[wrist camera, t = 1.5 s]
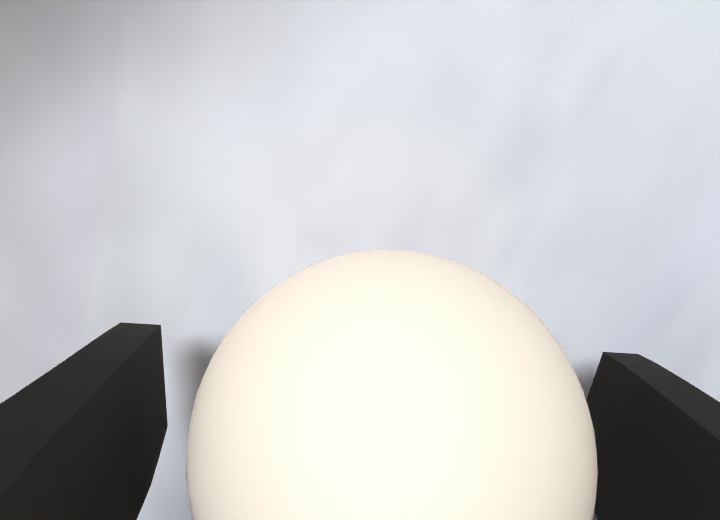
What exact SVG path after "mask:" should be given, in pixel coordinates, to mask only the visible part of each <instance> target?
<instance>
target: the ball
mask: <svg viewBox="0 0 720 520" xmlns="http://www.w3.org/2000/svg"><path fill="white" fill-rule="evenodd" d="M597 476H598V468H597V452H596V443H595V434H594V428H593V424H592V420H591V416H590V412H589V408H588V405H587V402H586V398H585V395H584V392H583V389H582V387H581V385H580V382H579V380H578V378H577V376H576V373H575V371H574V369H573V367H572V365H571V363H570V361H569V359H568V358H567V356H566V354H565V352H564V351H563V349H562V348H561V346H560V345H559V343H558V342H557V340H556V339H555V337H554V336H553V335H552V333H551V332H550V331H549V329H548V328H547V327H546V326H545V324H544V323H543V322H542V321H541V320H540V319H539V318H538V317H537V316H536V314H535V313H534V312H533V311H532V310H531V309H530V308H529V307H528V306H527V305H526V304H525V303H523V302H522V301H521V300H520V299H518V298H517V297H516V296H515V295H513V294H512V293H511V292H510V291H508V290H507V289H506V288H504V287H503V286H502V285H501V284H499V283H498V282H496V281H495V280H493V279H491V278H489V277H488V276H486V275H484V274H482V273H481V272H479V271H477V270H474V269H472V268H470V267H467V266H465V265H462V264H460V263H458V262H455V261H453V260H450V259H447V258H444V257H440V256H436V255H432V254H429V253H423V252H416V251H409V250H385V249H379V250H369V251H360V252H353V253H349V254H345V255H340V256H336V257H332V258H329V259H326V260H324V261H321V262H318V263H315V264H312V265H310V266H308V267H306V268H304V269H302V270H300V271H298V272H296V273H294V274H292V275H290V276H289V277H287V278H286V279H285V280H283V281H282V282H280V283H279V284H277V285H276V286H274V287H273V288H271V289H270V290H269V291H267V292H266V293H265V294H263V295H262V296H261V297H260V298H259V299H258V300H257V301H256V302H255V303H253V304H252V305H251V306H250V307H249V308H248V309H247V310H246V311H245V312H244V313H243V315H242V316H241V317H240V318H239V319H238V321H237V322H236V323H235V324H234V325H233V327H232V328H231V329H230V330H229V332H228V333H227V334H226V336H225V337H224V338H223V340H222V342H221V343H220V345H219V347H218V348H217V350H216V352H215V353H214V355H213V357H212V359H211V361H210V363H209V365H208V367H207V369H206V372H205V374H204V376H203V379H202V381H201V384H200V386H199V389H198V391H197V394H196V398H195V402H194V407H193V411H192V415H191V420H190V424H189V429H188V438H187V456H186V479H187V487H188V495H189V502H190V509H191V515H192V518H193V520H592V519H593V515H594V508H595V501H596V490H597Z"/></svg>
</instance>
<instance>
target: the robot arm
mask: <svg viewBox="0 0 720 520" xmlns="http://www.w3.org/2000/svg"><path fill="white" fill-rule="evenodd" d="M586 402H587V405H588V408H589V412H590V416H591V420H592V424H593V428H594V434H595V443H596V452H597V468H598V476H597V490H596V501H595V508H594V513H595V515H596V517H597V519H598V520H720V402H718V401H717V400H715V399H714V398H712V397H710V396H709V395H707V394H706V393H704V392H703V391H701V390H699V389H698V388H696V387H695V386H693V385H691V384H690V383H688V382H687V381H685V380H683V379H682V378H680V377H678V376H677V375H675V374H673V373H672V372H670V371H668V370H667V369H665V368H663V367H662V366H660V365H658V364H656V363H654V362H653V361H651V360H649V359H647V358H645V357H643V356H641V355H639V354H627V353H611V352H603V354H602V357H601V360H600V363H599V365H598V368H597V371H596V374H595V377H594V380H593V383H592V385H591V388H590V391H589V394H588V397H587V400H586ZM166 430H167V411H166V396H165V382H164V367H163V352H162V337H161V325H151V324H135V323H119V324H118V325H116V326H115V327H113V328H111V329H110V330H108V331H107V332H105V333H104V334H102V335H101V336H99V337H98V338H96V339H95V340H93V341H92V342H91V343H89V344H88V345H86V346H85V347H83V348H82V349H80V350H79V351H78V352H76V353H75V354H73V355H72V356H70V357H69V358H68V359H66V360H65V361H63V362H62V363H60V364H59V365H57V366H56V367H54V368H53V369H52V370H50V371H49V372H47V373H46V374H44V375H43V376H41V377H40V378H38V379H37V380H35V381H34V382H32V383H31V384H29V385H28V386H26V387H25V388H23V389H22V390H20V391H19V392H18V393H16V394H15V395H13V396H12V397H10V398H9V399H7V400H5V401H4V402H2V403H1V404H0V520H137V517H138V515H139V512H140V510H141V508H142V505H143V503H144V500H145V498H146V496H147V493H148V491H149V488H150V486H151V482H152V479H153V476H154V472H155V469H156V466H157V462H158V459H159V455H160V452H161V448H162V444H163V441H164V437H165V434H166Z"/></svg>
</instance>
